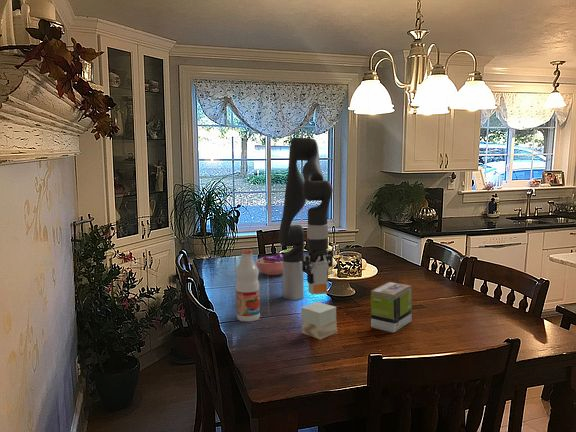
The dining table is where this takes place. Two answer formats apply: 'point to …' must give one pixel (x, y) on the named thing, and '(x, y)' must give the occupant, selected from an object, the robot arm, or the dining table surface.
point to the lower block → (319, 329)
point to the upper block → (318, 314)
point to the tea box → (391, 306)
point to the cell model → (271, 264)
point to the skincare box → (319, 278)
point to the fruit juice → (247, 288)
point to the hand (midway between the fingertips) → (317, 281)
